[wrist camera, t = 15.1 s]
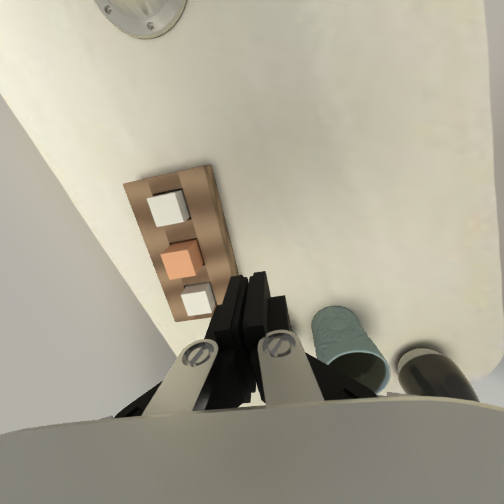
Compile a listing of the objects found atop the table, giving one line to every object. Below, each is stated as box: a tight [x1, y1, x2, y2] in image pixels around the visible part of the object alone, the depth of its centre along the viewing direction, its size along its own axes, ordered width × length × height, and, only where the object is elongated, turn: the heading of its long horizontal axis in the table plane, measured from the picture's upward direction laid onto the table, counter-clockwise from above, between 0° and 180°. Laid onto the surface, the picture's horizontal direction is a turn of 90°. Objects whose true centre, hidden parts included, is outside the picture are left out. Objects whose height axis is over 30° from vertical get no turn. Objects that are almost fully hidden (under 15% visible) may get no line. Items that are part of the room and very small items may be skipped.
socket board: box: [123, 165, 239, 322], centre depth 40 cm, size 24×12×5 cm, turn 12°
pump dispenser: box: [398, 348, 479, 402], centre depth 41 cm, size 10×10×15 cm
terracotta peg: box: [160, 238, 204, 280], centre depth 37 cm, size 4×4×6 cm
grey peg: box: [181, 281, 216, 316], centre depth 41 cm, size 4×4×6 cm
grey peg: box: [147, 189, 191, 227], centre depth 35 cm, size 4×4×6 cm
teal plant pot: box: [311, 306, 391, 394], centre depth 41 cm, size 10×10×12 cm
